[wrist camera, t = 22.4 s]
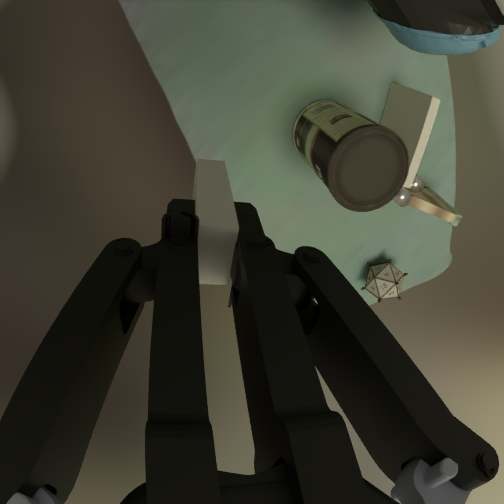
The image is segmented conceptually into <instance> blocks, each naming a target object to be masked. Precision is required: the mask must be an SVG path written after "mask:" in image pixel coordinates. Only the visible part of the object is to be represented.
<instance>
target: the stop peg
mask: <svg viewBox="0 0 504 504" xmlns="http://www.w3.org/2000/svg"><path fill="white" fill-rule="evenodd" d="M423 188H424V181H423V180H422V179H421V178H420V177H419V176H417V175H415V178H414V180H413V183H412V185H411V188H409V189H410V190H411V191H412V192H414V193H419V192H421V191H422V189H423Z"/></svg>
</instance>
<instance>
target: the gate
mask: <svg viewBox="0 0 504 504" xmlns="http://www.w3.org/2000/svg"><path fill="white" fill-rule="evenodd" d="M404 188H406V187H404ZM406 189H407V190H408V191H409V192H410V193H411V201H410V202H409V204H408V205H410V206H412V207H415V208H417V209H420V210H422V211H425V212H427V213H430V214H432V215H434V216H437V217H439V218H442V219H444V220H446V221H449V222H450V223H451V224H452V225H454V226H457V225H458V223H459V221H460V220H461V218H462V216H461V215H460V214H459V213H458V212H457V211H456V210H455V209H454V208H453V207H451V206H450V205H449V204H448V203H447V202H446V201H445V200H444V199H442V198H441V197H440V196H439V195H438V194H437V193H435V192H434V191H433V190H431V189H429V188H427V189H426V188H423V189H422V191H421V192H419V193H414V192H412V191H411V190H410V189H409V188H406Z"/></svg>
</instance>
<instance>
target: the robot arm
mask: <svg viewBox="0 0 504 504" xmlns="http://www.w3.org/2000/svg"><path fill="white" fill-rule="evenodd" d="M367 1H368V3H369V4H370V5H371V7H372V8H373V12H374V13H375V15H376V16H377V17H378V18H379V19H380V20H382V21H383V22H384V24H385V25H386V26H387V28H388V29H389V30H390V32H391V33H392V35H393V36H394V37H395V38H396V39H397V40H398V41H399V42H400V43H401V44H403V45H405V46H406V47H408V48H410V49H412V50H414V51H418V52H421V53H426V54H433V55H458V54H466V53H471V52H475V51H478V47H483V48H487V47H489V46H491V45H493V44H494V43H495V42H496V41H497V40H498V39H499V37H500V33H501V31H500V30H501V25H504V0H367ZM161 236H162V238H161V240H160V241H159V242H158V243H156V244H153V245H150V246H145V247H141V245H140V243H138V242H137V241H136V240H133V239H130V238H119V239H115V240H113V241H111V242H110V243H109V244H107V245H106V246H105V248H104V249H103V251H102V252H101V254H100V255H99V256H98V257H97V259H96V260H95V262H94V263H93V264H92V266H91V267H90V269H89V270H88V271H87V273H86V274H85V276H84V277H83V278H82V280H81V281H80V283H79V284H78V286H77V287H76V289H75V290H74V292H73V293H72V295H71V296H70V298H69V299H68V301H67V302H66V304H65V305H64V307H63V308H62V310H61V311H60V313H59V315H58V316H57V318H56V320H55V321H54V323H53V324H52V326H51V327H50V329H49V331H48V332H47V334H46V336H45V337H44V339H43V341H42V342H41V344H40V346H39V347H38V349H37V351H36V353H35V355H34V356H33V358H32V360H31V362H30V363H29V365H28V367H27V369H26V371H25V373H24V374H23V376H22V378H21V380H20V382H19V384H18V386H17V388H16V390H15V392H14V394H13V396H12V398H11V400H10V402H9V404H8V406H7V408H6V410H5V412H4V414H3V416H2V418H1V421H0V504H64V503H65V501H66V500H67V498H68V496H69V494H70V493H71V491H72V489H73V487H74V485H75V482H76V480H77V477H78V474H79V472H80V469H81V466H82V462H83V459H84V456H85V453H86V450H87V448H88V445H89V442H90V439H91V436H92V433H93V430H94V428H95V425H96V422H97V419H98V417H99V414H100V411H101V409H102V406H103V403H104V401H105V398H106V395H107V393H108V390H109V388H110V385H111V383H112V380H113V378H114V375H115V373H116V370H117V368H118V365H119V363H120V361H121V358H122V356H123V353H124V351H125V349H126V346H127V344H128V341H129V339H130V337H131V335H132V332H133V330H134V328H135V325H136V323H137V321H138V319H139V316H140V314H141V312H142V310H143V308H144V303H145V302H147V301H152V300H154V309H153V322H152V335H151V351H150V368H149V396H148V421H147V422H146V428H145V465H146V467H145V468H146V482H145V483H143V484H142V485H140V486H138V487H137V488H135V489H134V490H133V491H132V492H130V493H129V494H128V495H127V496H126V497H125V498H124V499H123V501H122V502H121V503H120V504H400V503H398V502H401V504H465V502H466V500H467V498H468V496H469V494H470V492H471V491H472V490H473V489H475V488H477V487H479V486H481V485H483V484H485V483H487V482H488V481H490V480H491V479H493V478H494V477H495V475H496V474H497V472H498V467H499V460H498V455H497V453H496V451H495V449H494V448H493V447H492V446H491V445H490V444H488V443H487V442H486V441H485V440H483V439H482V438H481V437H480V436H478V435H477V434H476V433H475V432H473V431H472V430H471V429H470V428H468V427H467V426H466V425H464V424H463V423H462V422H461V421H459V420H458V419H457V418H456V417H454V416H453V415H452V414H451V412H450V411H449V409H448V408H447V407H446V405H445V404H444V402H443V401H442V400H441V398H440V397H439V396H438V394H437V393H436V392H435V390H434V389H433V387H432V386H431V385H430V384H429V382H428V381H427V379H426V378H425V377H424V375H423V374H422V373H421V371H420V370H419V369H418V368H417V366H416V365H415V364H414V363H413V361H412V360H411V358H410V357H409V356H408V355H407V353H406V352H405V351H404V349H403V348H402V347H401V346H400V344H399V343H398V342H397V341H396V339H395V338H394V337H393V335H392V334H391V333H390V332H389V330H388V329H387V328H386V326H385V325H384V324H383V323H382V322H381V320H380V319H379V318H378V317H377V315H376V314H375V313H374V312H373V310H372V309H371V308H370V307H369V306H368V304H367V303H366V302H365V301H364V299H363V298H362V297H361V296H360V295H359V293H358V292H357V291H356V290H355V289H354V287H353V286H352V285H351V284H350V283H349V281H348V280H347V279H346V278H345V277H344V275H343V274H342V273H341V272H340V271H339V270H338V268H337V267H336V266H335V265H334V264H333V263H332V261H331V260H330V259H329V258H328V257H327V256H326V255H325V254H324V253H323V252H322V251H320V250H318V249H316V248H314V247H310V246H302V247H299V248H297V249H296V250H295V253H294V254H290V253H286V252H283V251H280V250H278V249H276V248H275V245H274V243H273V241H272V240H271V239H270V238H268V237H267V236H265V234H264V231H263V228H262V225H261V222H260V219H259V216H258V213H257V210H256V208H255V207H254V206H253V205H252V204H251V203H243V202H234V201H233V197H232V192H231V187H230V183H229V178H228V173H227V169H226V164H225V161H217V160H204V159H197V162H196V172H195V181H194V192H193V200H187V199H186V200H185V199H173V200H172V201H171V202H170V203H169V204H168V207H167V213H166V214H164V216H163V218H162V235H161ZM230 278H231V279H232V287H231V293H230V298H229V305H228V307H231V304H232V308H233V315H234V322H235V329H236V335H237V342H238V349H239V355H240V361H241V368H242V375H243V381H244V387H245V393H246V399H247V406H248V412H249V418H250V424H251V430H252V436H253V441H254V448H255V458H254V469H255V474H254V475H242V474H235V473H229V472H223V471H218V470H217V464H216V456H215V447H214V439H213V431H212V426H211V424H210V421H209V416H208V406H207V395H206V384H205V372H204V358H203V344H202V329H201V311H200V290H199V284H220V285H229V284H230ZM314 298H315V300H316V301H317V303H318V305H317V304H316V302H315V301H314ZM315 366H316V368H317V369H318V371H319V372H320V374H321V376H322V378H323V379H324V381H325V383H326V384H327V386H328V387H329V389H330V391H331V392H332V394H333V396H334V397H335V399H336V400H337V402H338V403H339V405H340V407H341V408H342V410H343V412H344V413H345V415H346V417H347V418H348V420H349V421H350V423H351V425H352V426H353V428H354V430H355V431H356V433H357V434H358V436H359V438H360V439H361V441H362V442H363V444H364V446H365V447H366V449H367V451H368V452H369V454H370V455H371V457H372V458H373V460H374V461H375V463H376V464H377V465H378V467H379V468H380V469H381V470H382V471H383V472H384V474H385V475H386V476H387V477H388V478H389V479H390V480H392V481H393V482H394V483H395V486H394V487H393V488H392V490H391V497H392V498H390V497H389V496H388V495H386V494H385V493H384V492H382V491H381V490H379V489H378V488H376V487H375V486H374V485H372V484H371V483H369V482H368V481H367V480H365V479H364V478H363V477H362V475H361V471H360V468H359V465H358V462H357V459H356V455H355V453H354V449H353V446H352V443H351V440H350V437H349V433H348V430H347V428H346V424H345V422H344V420H343V418H342V416H341V415H340V414H339V413H338V412H335V411H331V410H330V409H329V407H328V406H327V403H326V399H325V396H324V393H323V390H322V387H321V384H320V380H319V378H318V375H317V371H316V368H315Z"/></svg>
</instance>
